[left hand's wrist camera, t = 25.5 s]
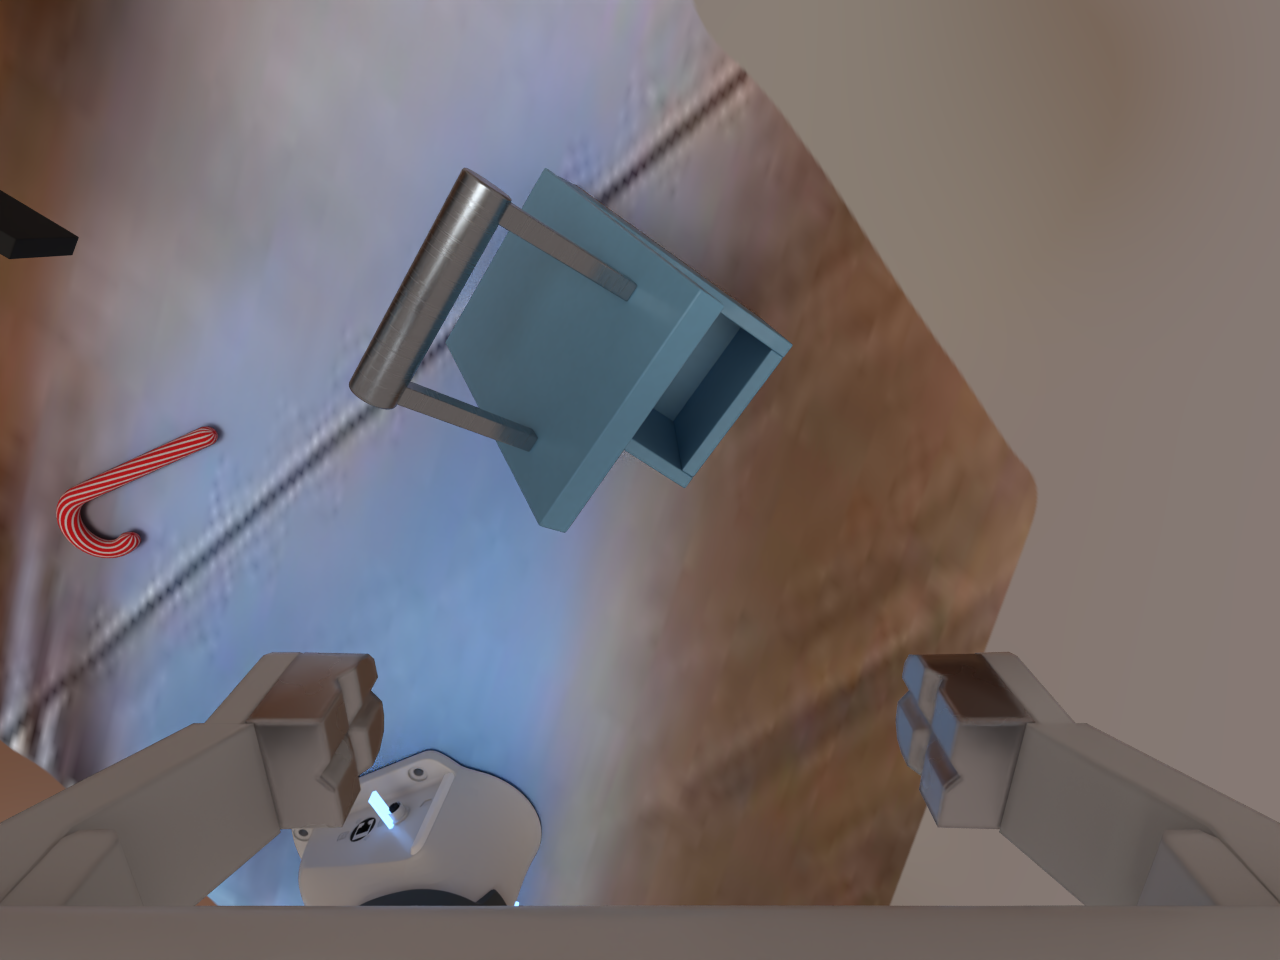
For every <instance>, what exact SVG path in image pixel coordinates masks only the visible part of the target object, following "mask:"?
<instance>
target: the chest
mask: <svg viewBox="0 0 1280 960" xmlns="http://www.w3.org/2000/svg"><path fill="white" fill-rule="evenodd" d="M558 177H559V176H558ZM559 178H561V177H559ZM561 179H562V180H564V181H565V182H566V183H568V184H569V185H570V186H572V187H573V188H574V189H575V190H577V191H578V192H579V193H581V194H582V195H583V196H584V197H586V198H587V199H588V200H590V201H591V202H592V203H594V204H595V205H596V206H597V207H599V208H600V209H601V210H603V211H604V212H605V213H606V214H608V215H609V216H610V217H612V218H613V219H614V220H615V221H617V222H618V223H619V224H621V225H622V226H623V227H624V228H626V229H627V230H628V231H630V232H631V233H632V234H634V235H635V236H636V237H637V238H639V239H640V240H641V241H643V242H644V243H645V244H646V245H648V246H649V247H650V248H652V249H653V250H654V251H655V252H657V253H658V254H659V255H661V256H662V257H663V258H665V259H666V260H667V261H668V262H670V263H671V264H672V265H674V266H675V267H676V268H677V269H679V270H680V271H681V272H683V273H684V274H685V275H686V276H688V277H689V278H690V279H692V280H693V281H694V282H696V283H697V284H698V285H699V286H701V287H702V288H703V289H705V290H706V291H707V292H708V293H710V294H711V295H712V296H714V297H715V298H716V299H717V300H719V301H720V302H721V303H723V304H724V308H723V309H722V311H721V312H720V314H719V315H718V317H717V318H716V319H715V321H714V322H713V324H712V325H711V327H710V328H709V329H708V331H707V332H706V334H705V335H704V337H703V338H702V339H701V341H700V342H699V344H698V345H697V346H696V348H695V349H694V351H693V352H692V354H691V355H690V356H689V358H688V359H687V361H686V362H685V364H684V365H683V366H682V368H681V369H680V371H679V372H678V374H677V375H676V376H675V378H674V379H673V381H672V382H671V383H670V385H669V386H668V388H667V389H666V391H665V392H664V393H663V395H662V396H661V398H660V399H659V401H658V402H657V403H656V405H655V406H654V408H653V409H652V411H651V412H650V413H649V415H648V416H647V418H646V419H645V420H644V422H643V423H642V425H641V426H640V428H639V429H638V430H637V432H636V433H635V435H634V436H633V438H632V439H631V440H630V442H629V443H628V445H627V446H626V448H625V449H624V450H625V451H627V452H628V453H630V454H631V455H633V456H635V457H636V458H638V459H639V460H641V461H642V462H644V463H646V464H647V465H649V466H650V467H652V468H653V469H655V470H657V471H658V472H660V473H661V474H663V475H664V476H666V477H668V478H669V479H671V480H672V481H674V482H675V483H677V484H679V485H680V486H682V487H683V488H685V487H686V486H687V485H688V484H689V482H690V481H691V480H692V477H694V476H695V474H696V473H697V472H698V470H699V469H700V468H701V466H702V465H703V464H704V462H705V461H706V460H707V458H708V457H709V456H710V454H711V453H712V452H713V450H714V449H715V448H716V446H717V445H718V444H719V442H720V441H721V440H722V438H723V437H724V436H725V434H726V433H727V432H728V430H729V429H730V428H731V426H732V425H733V424H734V422H735V421H736V420H737V418H738V417H739V416H740V414H741V413H742V412H743V410H744V409H745V408H746V406H747V405H748V404H749V403H750V401H751V400H752V399H753V397H754V396H755V395H756V393H757V392H758V391H759V389H760V388H761V387H762V385H763V384H764V383H765V381H766V380H767V379H768V377H769V376H770V375H771V373H772V372H773V371H774V369H775V368H776V367H777V365H778V364H779V363H780V361H781V360H782V358H783V357H784V356H785V355H786V354H787V352H788V351H789V350H790V348H791V347H792V344H791V343H790V342H789V341H788V340H786V339H785V338H784V337H783V336H782V335H780V334H779V333H778V332H777V331H775V330H774V329H773V328H772V327H771V326H769V325H768V324H767V323H766V322H765V321H763V320H762V319H761V318H760V317H759V316H757V315H756V314H755V313H753V312H752V311H750V310H749V309H748V308H746V307H745V306H743V305H742V304H741V303H739V302H738V301H736V300H735V299H734V298H732V297H731V296H730V295H728V294H727V293H725V292H724V291H723V290H721V289H720V288H718V287H717V286H716V285H714V284H713V283H711V282H710V281H709V280H707V279H706V278H705V277H703V276H702V275H700V274H699V273H698V272H696V271H695V270H693V269H692V268H691V267H689V266H688V265H686V264H685V263H684V262H682V261H681V260H680V259H678V258H677V257H675V256H674V255H673V254H671V253H670V252H668V251H667V250H666V249H664V248H663V247H661V246H660V245H659V244H657V243H656V242H654V241H653V240H652V239H650V238H649V237H648V236H646V235H645V234H643V233H642V232H641V231H639V230H638V229H636V228H635V227H634V226H632V225H631V224H629V223H628V222H627V221H625V220H624V219H623V218H621V217H620V216H618V215H617V214H616V213H614V212H613V211H611V210H610V209H609V208H607V207H606V206H604V205H603V204H602V203H600V202H599V201H597V200H596V199H595V198H593V197H592V196H591V195H589V194H588V193H586V192H585V191H584V190H582V189H581V188H579V187H578V186H577V185H574V184H572V183H570V182H568V181H566V180H565V179H563V178H561Z"/></svg>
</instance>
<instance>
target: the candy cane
mask: <svg viewBox="0 0 1280 960" xmlns="http://www.w3.org/2000/svg"><path fill="white" fill-rule="evenodd" d="M217 438H218V434H217V432H216V430H215V429H213V428H212V427H208V426H204V427H201V428H199V429H197V430H194V431H192V432H190V433H188V434H186V435H184V436H181V437H179V438H177V439H175V440H173V441H171V442H168V443H166V444H164V445H162V446H160V447H158V448H156V449H153V450H151V451H149V452H147V453H145V454H143V455H140V456H138V457H136V458H134V459H132V460H130V461H128V462H125V463H123V464H121V465H119V466H117V467H115V468H113V469H110V470H108V471H106V472H104V473H102V474H100V475H98V476H95V477H93V478H91V479H89V480H87V481H85V482H82V483H80V484H78V485H76V486H74V487H72V488H71V489H69V490H67V491H66V492H65V493H64V494H63V495H62V497H61V498H60V500H59V502H58V505H57V509H56V518H57V522H58V525H59V527H60V529H61V531H62V533H63V534H64V536H65V537H66V538H67V539H68V540H69V541H70V542H71V543H72V544H73V545H74V546H75V547H77V548H78V549H80V550H82V551H83V552H85V553H88V554H90V555H93V556H96V557H102V558H116V557H120V556H124V555H126V554H128V553H130V552H132V551H133V550H134V549H135V548H136V547H137V546H138V545H139V544H140V542H141V538H140V536H139V535H138V534H137V533H135V532H125V533H123V534H121V535H120V536H119V537H118V538H117V539H114V540H106V539H102V538H99V537H97V536H96V535H94V534H93V533H91V532H90V531H89V530H88V529H87V528H86V527H85V525H84V524H83V522H82V519H81V516H80V510H81V507H82V505H83V504H84V503H86V502H88V501H90V500H92V499H95V498H97V497H99V496H101V495H103V494H105V493H108V492H110V491H112V490H114V489H116V488H119V487H121V486H123V485H125V484H127V483H129V482H132V481H134V480H136V479H138V478H140V477H142V476H145V475H147V474H149V473H151V472H153V471H155V470H158V469H160V468H162V467H164V466H166V465H169V464H171V463H173V462H175V461H177V460H179V459H182V458H184V457H186V456H188V455H190V454H192V453H195V452H197V451H199V450H201V449H203V448H205V447H208V446H210V445H212V444H214V443H215V442H216V441H217Z"/></svg>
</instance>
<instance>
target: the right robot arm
mask: <svg viewBox="0 0 1280 960" xmlns="http://www.w3.org/2000/svg"><path fill="white" fill-rule="evenodd" d="M78 238H79V237H78V236H76V235H74V234H73V233H71V232H69V231H68V230H66V229H64V228H63V227H61V226H59V225H58V224H56V223H54V222H53V221H51V220H49V219H48V218H46V217H44V216H43V215H41V214H39V213H38V212H36V211H34V210H33V209H31V208H29V207H28V206H26V205H24V204H23V203H21V202H19V201H18V200H16V199H14V198H13V197H11V196H9V195H8V194H6V193H4V192H3V191H1V190H0V254H1V255H3V256H5V257H7V258H8V259H18V258H33V257H49V256H64V255H72V254H73V252H74V249H75V246H76V243H77V241H78Z"/></svg>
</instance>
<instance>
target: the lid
mask: <svg viewBox="0 0 1280 960" xmlns="http://www.w3.org/2000/svg"><path fill="white" fill-rule="evenodd" d="M498 225H500V226H502V227H503V228H505V229H507V230H508V231H509V232H508V234H507V235H506V237H505V239H504V241H503V242H502V244H501V246H500V248H499V249H498V251H497V253H496V255H495V256H494V258H493V260H492V262H491V263H490V265H489V267H488V269H487V270H486V272H485V274H484V276H483V277H482V279H481V281H480V283H479V284H478V286H477V288H476V290H475V291H474V293H473V295H472V297H471V298H470V300H469V302H468V304H467V305H466V307H465V309H464V311H463V312H462V314H461V316H460V318H459V320H458V321H457V323H456V325H455V327H454V328H453V330H452V332H451V334H450V335H449V337H448V339H447V341H446V344H447V346H448V348H449V350H450V352H451V354H452V356H453V358H454V360H455V362H456V364H457V366H458V368H459V370H460V372H461V374H462V376H463V378H464V379H465V381H466V383H467V385H468V387H469V389H470V391H471V393H472V395H473V397H474V399H475V401H476V403H477V405H478V407H479V408H477V407H475V406H472V405H469V404H467V403H464V402H462V401H459V400H457V399H454V398H451V397H449V396H446V395H444V394H441V393H439V392H436V391H433V390H431V389H428V388H426V387H423V386H420V385H418V384H415V383H413V382H410V381H411V379H412V377H413V376H414V374H415V372H416V370H417V369H418V367H419V365H420V363H421V362H422V360H423V358H424V356H425V354H426V353H427V351H428V349H429V347H430V346H431V344H432V342H433V340H434V338H435V337H436V335H437V333H438V331H439V330H440V328H441V326H442V324H443V322H444V321H445V319H446V317H447V315H448V314H449V312H450V310H451V308H452V306H453V305H454V303H455V301H456V299H457V298H458V296H459V294H460V292H461V290H462V289H463V287H464V285H465V283H466V282H467V280H468V278H469V276H470V275H471V273H472V271H473V269H474V267H475V266H476V264H477V262H478V260H479V259H480V257H481V255H482V253H483V251H484V250H485V248H486V246H487V244H488V243H489V241H490V239H491V237H492V235H493V234H494V232H495V230H496V228H497V227H498ZM723 308H724V304H723V303H721V302H720V301H719V300H717V299H716V298H715V297H714V296H712V295H711V294H710V293H708V292H707V291H706V290H705V289H703V288H702V287H701V286H699V285H698V284H697V283H696V282H694V281H693V280H692V279H690V278H689V277H688V276H686V275H685V274H684V273H683V272H681V271H680V270H679V269H677V268H676V267H675V266H674V265H672V264H671V263H670V262H668V261H667V260H666V259H665V258H663V257H662V256H661V255H659V254H658V253H657V252H655V251H654V250H653V249H652V248H650V247H649V246H648V245H646V244H645V243H644V242H643V241H641V240H640V239H639V238H637V237H636V236H635V235H634V234H632V233H631V232H630V231H628V230H627V229H626V228H624V227H623V226H622V225H621V224H619V223H618V222H617V221H615V220H614V219H613V218H612V217H610V216H609V215H608V214H606V213H605V212H604V211H603V210H601V209H600V208H599V207H597V206H596V205H595V204H594V203H592V202H591V201H590V200H588V199H587V198H586V197H584V196H583V195H582V194H581V193H579V192H578V191H577V190H575V189H574V188H573V187H572V186H570V185H569V184H568V183H566V182H565V181H564V180H562V179H561V178H559V177H558V176H557V175H555V174H554V173H552V172H551V171H550V170H548V169H547V168H545V169H544V170H543V172H542V174H541V176H540V177H539V179H538V181H537V183H536V184H535V186H534V188H533V190H532V191H531V193H530V195H529V197H528V199H527V200H526V202H525V204H524V206H523V207H522V209H520V208H519V207H517V206H516V205H514V204H512V203H511V198H510V197H509V196H508V195H507V194H506V193H504V192H503V191H502V190H501V189H499V188H498V187H496V186H495V185H494V184H492V183H491V182H489V181H488V180H486V179H485V178H483V177H482V176H480V175H479V174H477V173H475V172H474V171H472V170H470V169H468V168H463V169H462V171H461V173H460V175H459V176H458V178H457V180H456V182H455V184H454V186H453V188H452V190H451V192H450V193H449V195H448V197H447V199H446V201H445V203H444V205H443V207H442V208H441V210H440V212H439V214H438V216H437V218H436V220H435V222H434V224H433V225H432V227H431V229H430V231H429V233H428V235H427V237H426V239H425V240H424V242H423V244H422V246H421V248H420V250H419V252H418V254H417V256H416V257H415V259H414V261H413V263H412V265H411V267H410V269H409V271H408V272H407V274H406V276H405V278H404V280H403V282H402V284H401V286H400V288H399V289H398V291H397V293H396V295H395V297H394V299H393V301H392V303H391V305H390V306H389V308H388V310H387V312H386V314H385V316H384V318H383V320H382V321H381V323H380V325H379V327H378V329H377V331H376V333H375V335H374V337H373V338H372V340H371V342H370V344H369V346H368V348H367V350H366V352H365V353H364V355H363V357H362V359H361V361H360V363H359V365H358V367H357V369H356V370H355V372H354V374H353V376H352V378H351V380H350V382H349V388H350V390H351V391H352V392H353V393H354V394H355V395H356V396H357V397H358V398H360V399H361V400H363V401H364V402H366V403H368V404H370V405H372V406H375V407H378V408H381V409H393V408H395V407H396V406H397V404H398V405H400V406H403V407H406V408H409V409H411V410H414V411H417V412H420V413H423V414H425V415H428V416H431V417H434V418H436V419H439V420H442V421H445V422H448V423H450V424H453V425H456V426H459V427H461V428H464V429H467V430H470V431H473V432H475V433H478V434H481V435H484V436H486V437H489V438H492V439H495V440H496V442H497V444H498V446H499V448H500V450H501V452H502V454H503V456H504V458H505V460H506V461H507V463H508V465H509V467H510V469H511V471H512V473H513V475H514V477H515V479H516V481H517V483H518V485H519V487H520V489H521V491H522V493H523V495H524V497H525V499H526V501H527V502H528V504H529V506H530V508H531V510H532V512H533V514H534V516H535V518H536V520H537V522H538V524H539V525H540V526H542V527H546V528H549V529H553V530H557V531H560V532H564V533H565V532H566V531H567V530H568V529H569V527H570V526H571V524H572V523H573V521H574V520H575V519H576V517H577V516H578V514H579V513H580V512H581V510H582V509H583V507H584V506H585V504H586V503H587V502H588V500H589V499H590V497H591V496H592V494H593V493H594V492H595V490H596V489H597V487H598V486H599V485H600V483H601V482H602V480H603V479H604V477H605V476H606V475H607V473H608V472H609V470H610V469H611V467H612V466H613V465H614V463H615V462H616V460H617V459H618V457H619V456H620V455H621V453H622V452H623V450H624V449H625V448H626V446H627V445H628V443H629V442H630V440H631V439H632V438H633V436H634V435H635V433H636V432H637V430H638V429H639V428H640V426H641V425H642V423H643V422H644V420H645V419H646V418H647V416H648V415H649V413H650V412H651V411H652V409H653V408H654V406H655V405H656V403H657V402H658V401H659V399H660V398H661V396H662V395H663V393H664V392H665V391H666V389H667V388H668V386H669V385H670V383H671V382H672V381H673V379H674V378H675V376H676V375H677V374H678V372H679V371H680V369H681V368H682V366H683V365H684V364H685V362H686V361H687V359H688V358H689V356H690V355H691V354H692V352H693V351H694V349H695V348H696V346H697V345H698V344H699V342H700V341H701V339H702V338H703V337H704V335H705V334H706V332H707V331H708V329H709V328H710V327H711V325H712V324H713V322H714V321H715V319H716V318H717V317H718V315H719V314H720V312H721V311H722V309H723Z"/></svg>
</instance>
